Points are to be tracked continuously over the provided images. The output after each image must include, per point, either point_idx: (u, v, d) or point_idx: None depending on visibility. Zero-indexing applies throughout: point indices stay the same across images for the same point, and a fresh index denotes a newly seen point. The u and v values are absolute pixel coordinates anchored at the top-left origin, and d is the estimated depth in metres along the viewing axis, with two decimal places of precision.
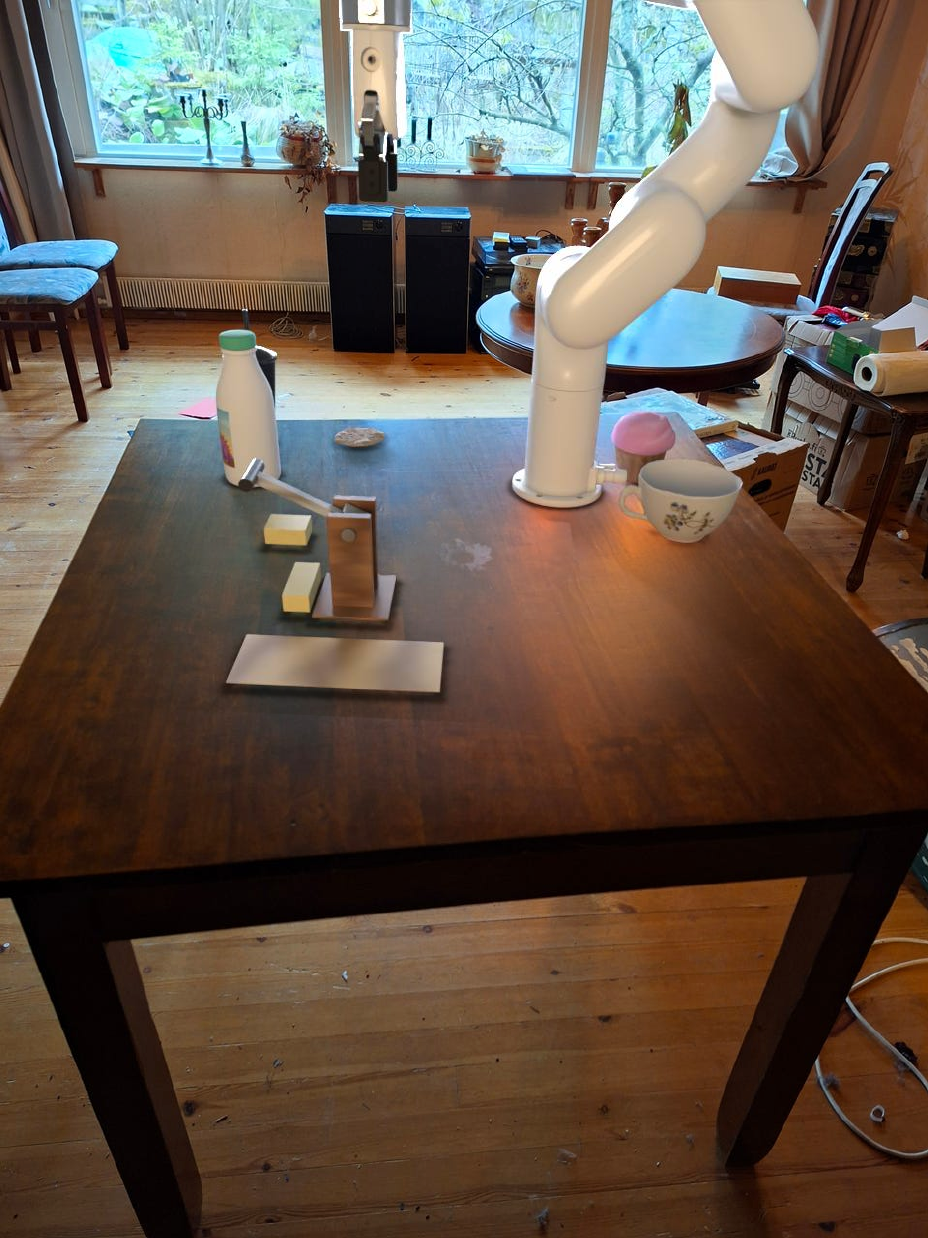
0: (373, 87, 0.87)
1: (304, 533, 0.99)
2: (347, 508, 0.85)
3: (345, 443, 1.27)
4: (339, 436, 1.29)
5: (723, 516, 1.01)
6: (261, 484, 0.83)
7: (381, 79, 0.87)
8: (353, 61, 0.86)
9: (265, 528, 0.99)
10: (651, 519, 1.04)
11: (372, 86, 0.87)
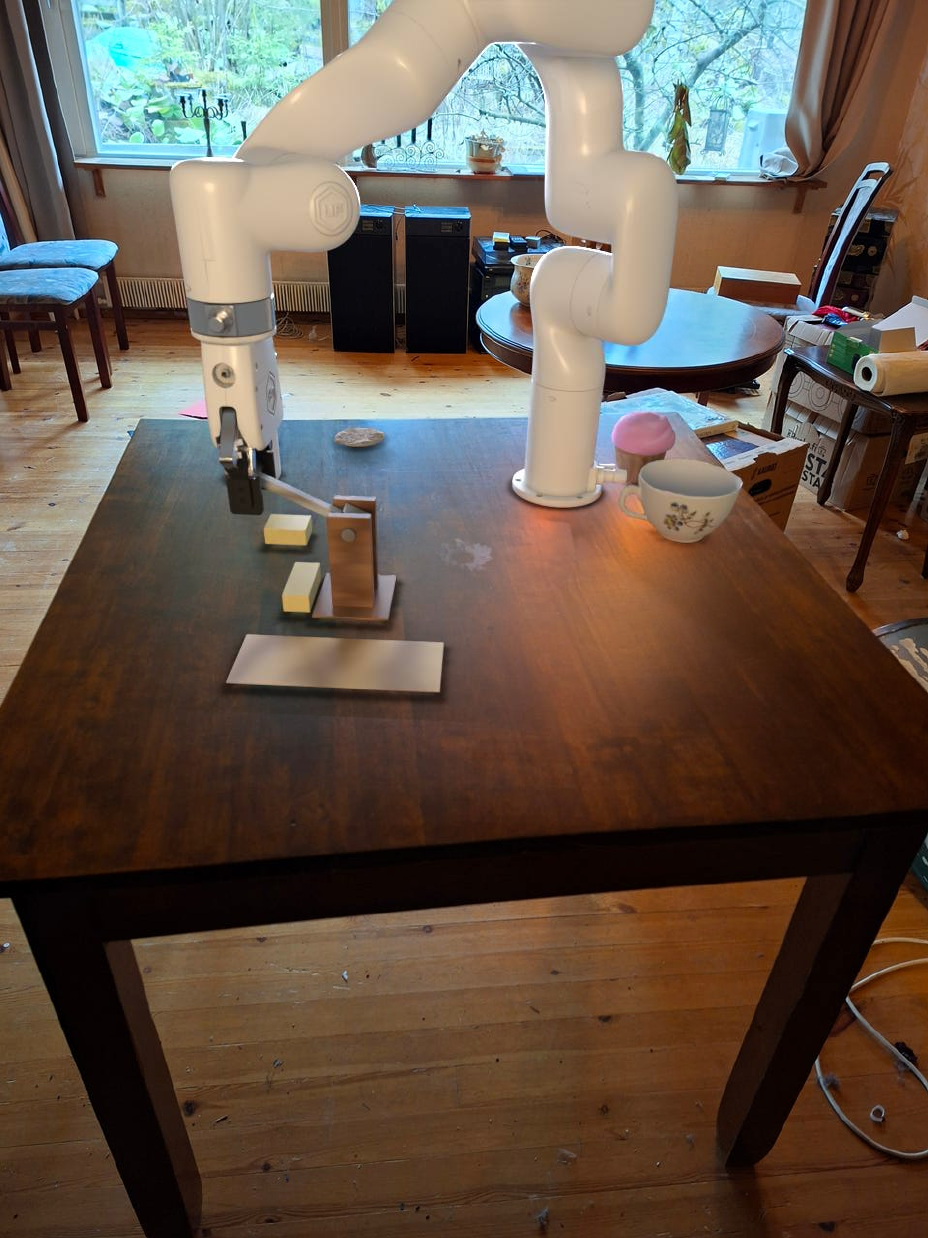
0: (229, 403, 0.74)
1: (304, 533, 0.99)
2: (347, 508, 0.85)
3: (345, 443, 1.27)
4: (339, 436, 1.29)
5: (723, 516, 1.01)
6: (261, 484, 0.83)
7: (238, 396, 0.73)
8: (204, 376, 0.73)
9: (265, 528, 0.99)
10: (651, 519, 1.04)
11: (228, 402, 0.74)
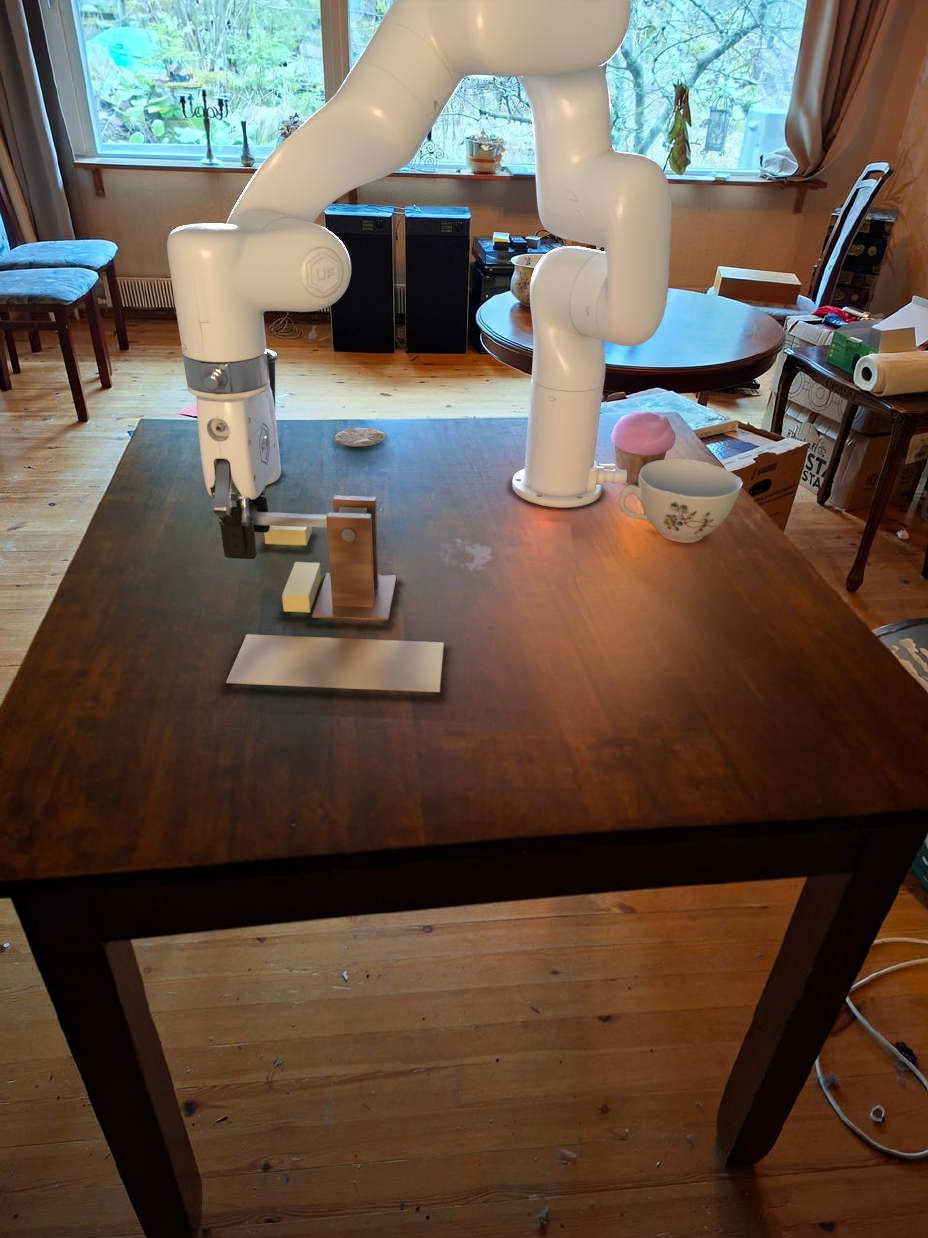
0: (224, 456, 0.77)
1: (304, 533, 0.99)
2: (341, 511, 0.85)
3: (345, 443, 1.27)
4: (339, 436, 1.29)
5: (723, 516, 1.01)
6: (257, 522, 0.85)
7: (232, 449, 0.76)
8: (199, 430, 0.76)
9: None
10: (651, 519, 1.04)
11: (222, 455, 0.77)
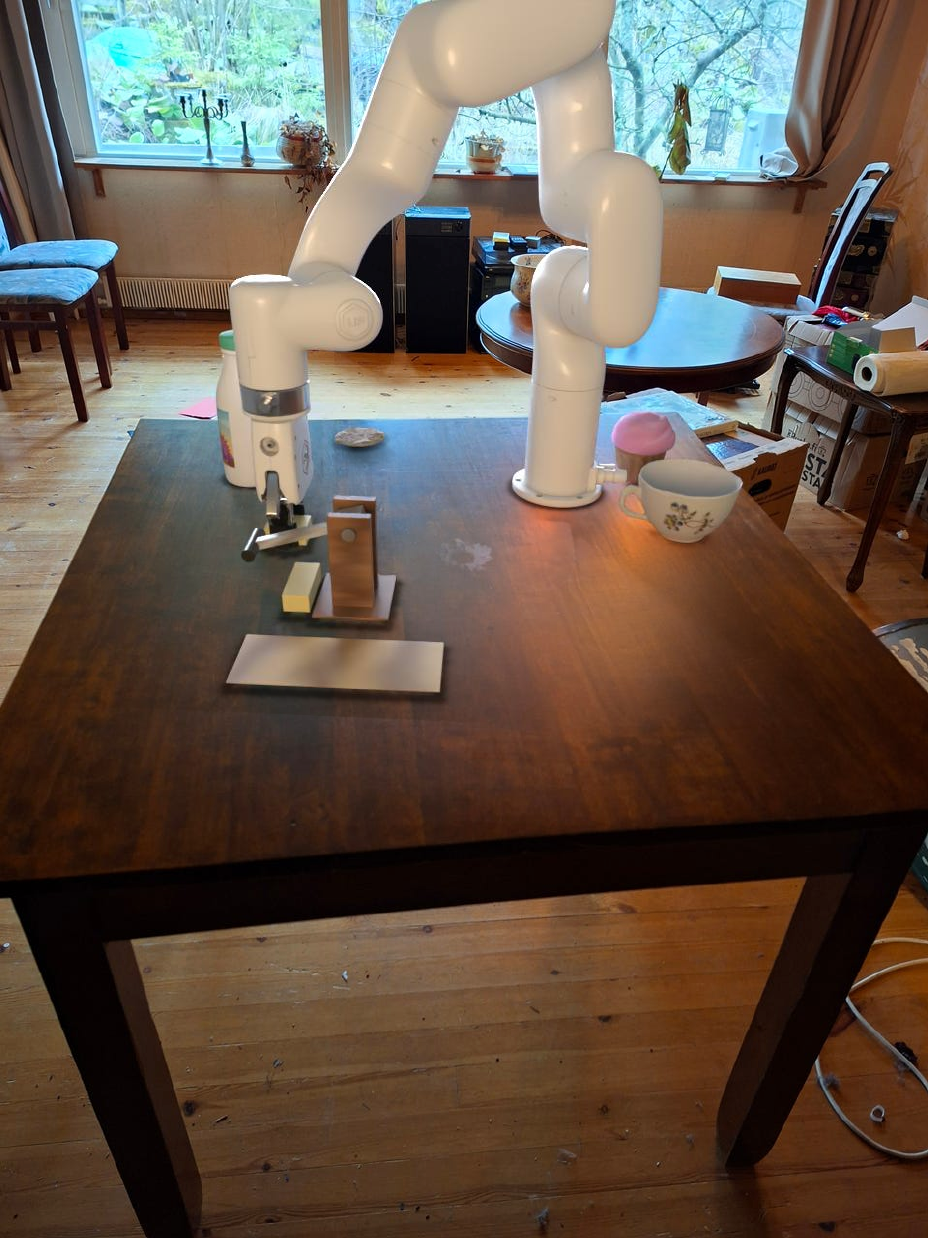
0: (273, 468, 0.91)
1: None
2: None
3: (345, 443, 1.27)
4: (339, 436, 1.29)
5: (723, 516, 1.01)
6: (264, 545, 0.87)
7: (280, 462, 0.91)
8: (253, 446, 0.90)
9: (265, 528, 0.99)
10: (651, 519, 1.04)
11: (272, 467, 0.91)
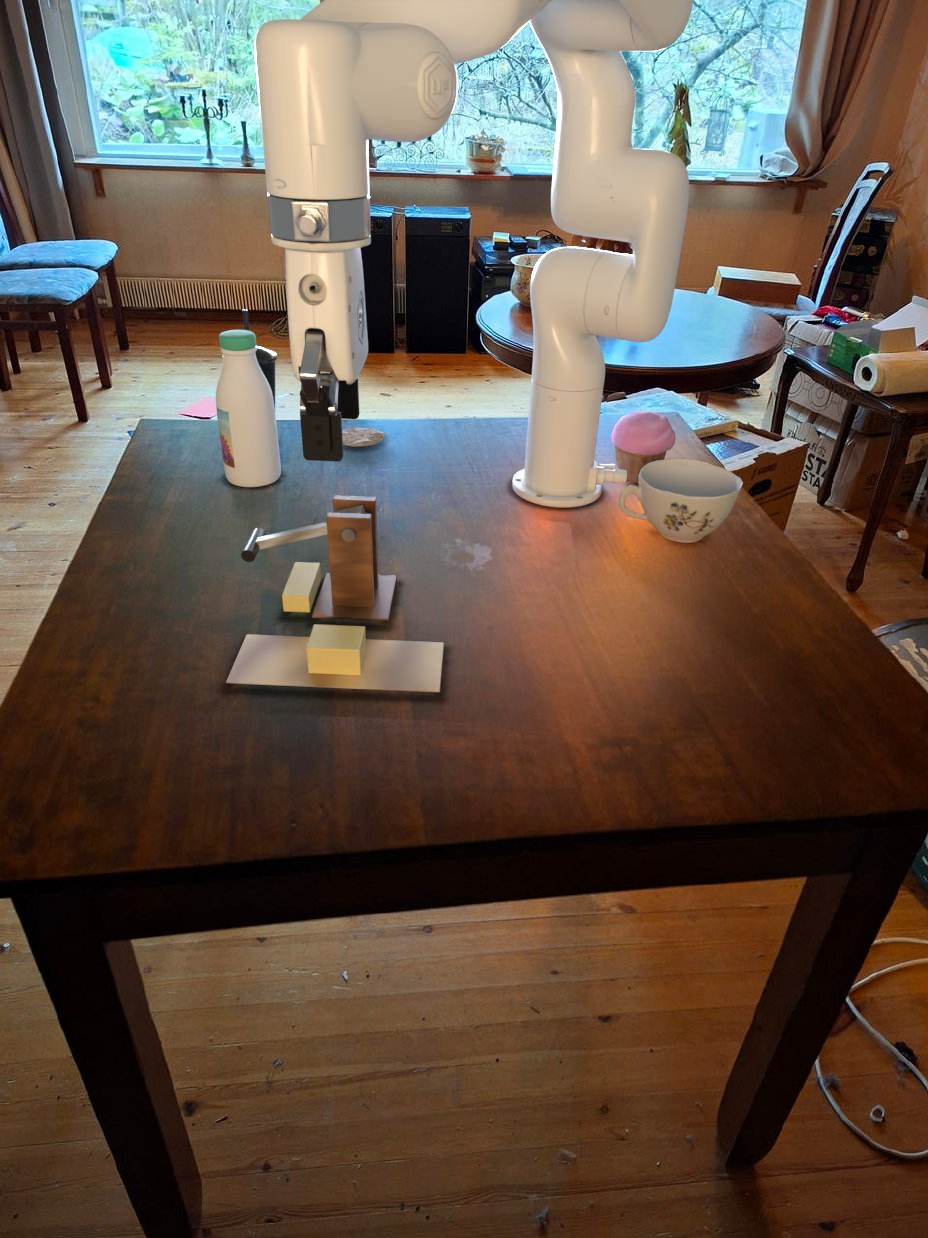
0: (318, 324, 0.62)
1: (358, 653, 0.77)
2: None
3: (345, 443, 1.27)
4: None
5: (723, 516, 1.01)
6: (264, 545, 0.87)
7: (328, 315, 0.62)
8: (288, 291, 0.61)
9: (308, 647, 0.77)
10: (651, 519, 1.04)
11: (316, 323, 0.62)
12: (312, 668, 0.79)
